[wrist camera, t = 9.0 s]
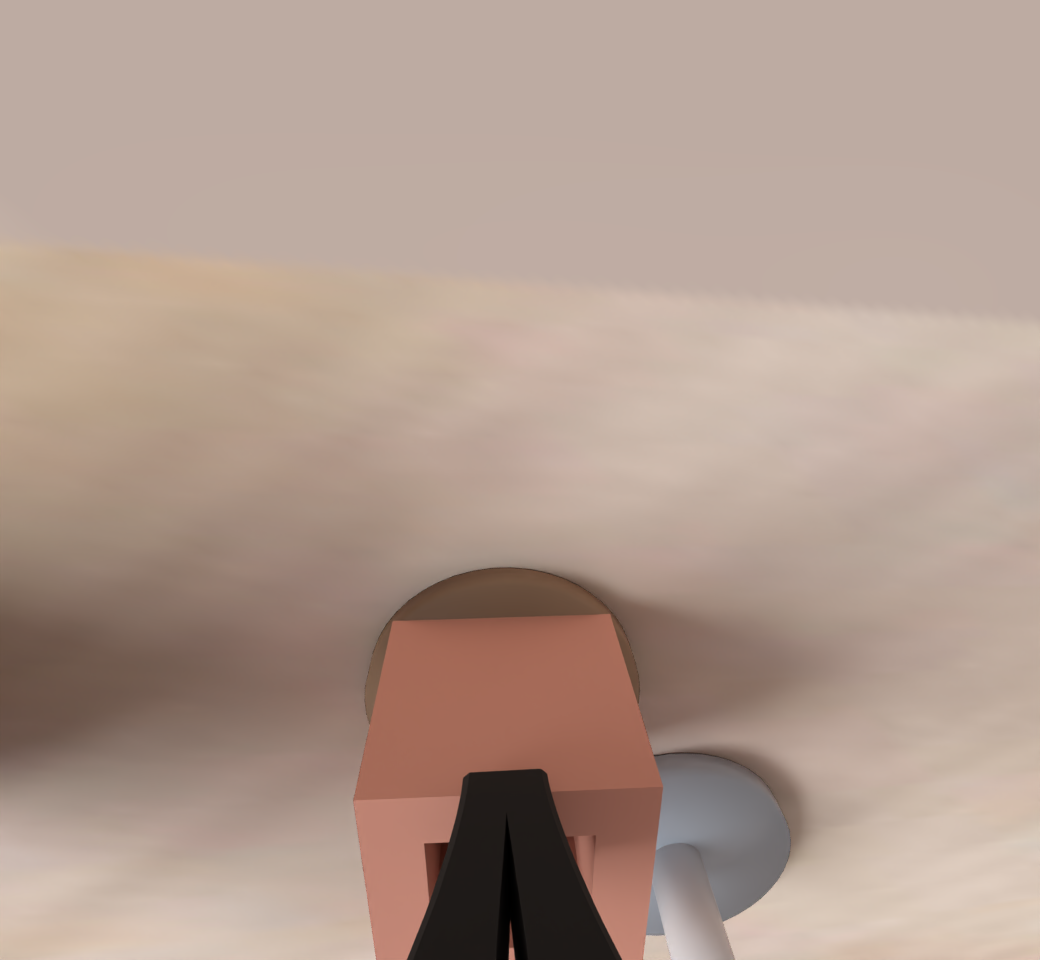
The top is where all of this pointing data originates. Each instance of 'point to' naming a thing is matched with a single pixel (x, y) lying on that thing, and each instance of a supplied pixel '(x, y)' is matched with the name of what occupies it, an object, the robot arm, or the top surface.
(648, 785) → the salmon square tube
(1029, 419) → the top surface
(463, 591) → the hub
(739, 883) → the stand
